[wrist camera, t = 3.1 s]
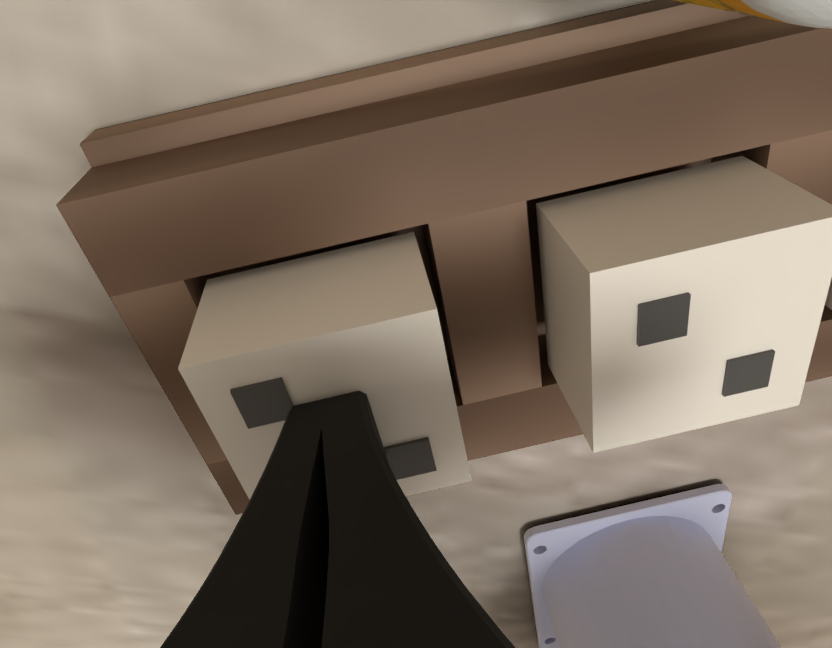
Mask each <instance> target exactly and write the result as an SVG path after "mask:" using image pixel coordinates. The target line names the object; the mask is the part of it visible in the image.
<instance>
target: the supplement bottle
mask: <svg viewBox="0 0 832 648" xmlns="http://www.w3.org/2000/svg"><path fill="white" fill-rule="evenodd" d="M675 1H680V2H685V3H690V4H695V5H700V6H705V7H710V8H715V9H721V10H725V11H730V12H734V13H738V14H743V15H750V16H755V17H760V18H765V19H769V20H774V21H779V22H784V23H789V24H794V25H800V26H807V27H813V28H827V29H832V0H675Z"/></svg>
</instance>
